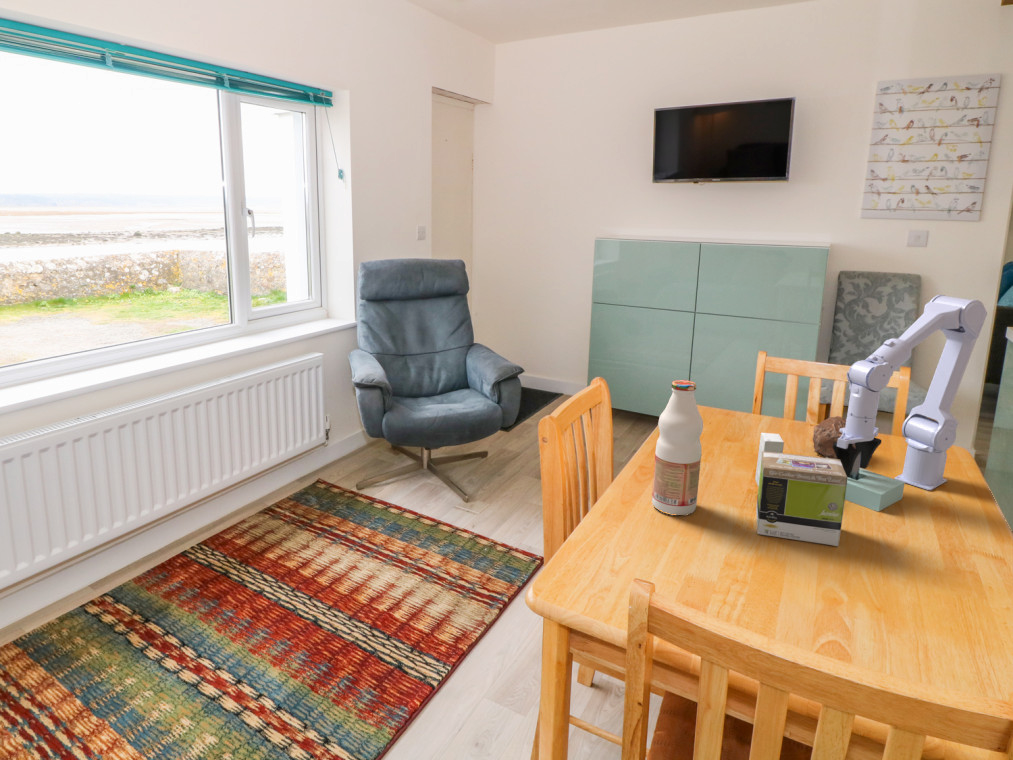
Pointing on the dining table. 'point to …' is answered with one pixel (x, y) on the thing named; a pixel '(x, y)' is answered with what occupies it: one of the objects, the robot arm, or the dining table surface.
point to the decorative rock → (828, 436)
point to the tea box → (801, 497)
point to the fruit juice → (678, 452)
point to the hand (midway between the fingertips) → (852, 471)
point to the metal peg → (856, 468)
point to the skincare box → (768, 448)
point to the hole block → (874, 490)
